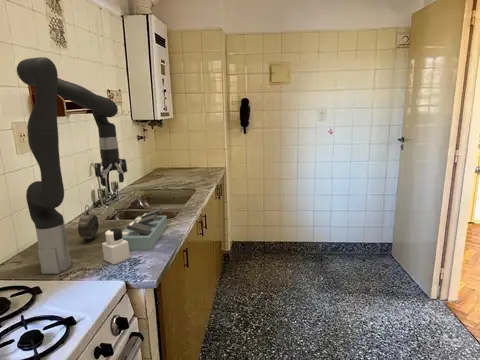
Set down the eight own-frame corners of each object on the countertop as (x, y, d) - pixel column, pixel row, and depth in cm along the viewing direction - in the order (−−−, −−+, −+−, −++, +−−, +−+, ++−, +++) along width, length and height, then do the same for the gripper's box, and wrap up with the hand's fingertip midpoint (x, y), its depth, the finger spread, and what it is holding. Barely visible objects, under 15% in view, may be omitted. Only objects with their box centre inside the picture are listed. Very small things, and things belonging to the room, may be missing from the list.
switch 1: (160, 214, 159) (158, 210, 159) (142, 220, 160) (140, 216, 160) (162, 210, 164) (161, 207, 163) (145, 216, 165) (144, 213, 165)
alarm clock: (91, 234, 160) (86, 201, 157) (102, 234, 160) (97, 201, 156) (79, 244, 150) (73, 209, 146) (91, 244, 149) (86, 208, 146)
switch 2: (154, 220, 150) (152, 217, 150) (135, 227, 151) (134, 223, 151) (157, 217, 155) (156, 213, 155) (139, 223, 156) (138, 219, 156)
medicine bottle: (120, 253, 139) (116, 225, 136) (130, 258, 135) (126, 229, 132) (103, 260, 134) (99, 231, 131) (113, 265, 129) (109, 235, 127)
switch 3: (147, 234, 142) (148, 231, 142) (126, 228, 142) (127, 225, 142) (151, 230, 147) (152, 226, 147) (130, 224, 147) (131, 220, 146)
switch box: (150, 249, 141) (149, 234, 140) (117, 250, 142) (115, 235, 141) (167, 226, 168) (166, 213, 166) (139, 226, 168) (137, 213, 167)
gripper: (98, 150, 141) (103, 188, 144) (128, 146, 152) (131, 181, 155) (88, 149, 145) (93, 186, 149) (118, 145, 156) (121, 180, 160)
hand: (113, 184), depth 152 cm, fingers open, 8 cm apart
